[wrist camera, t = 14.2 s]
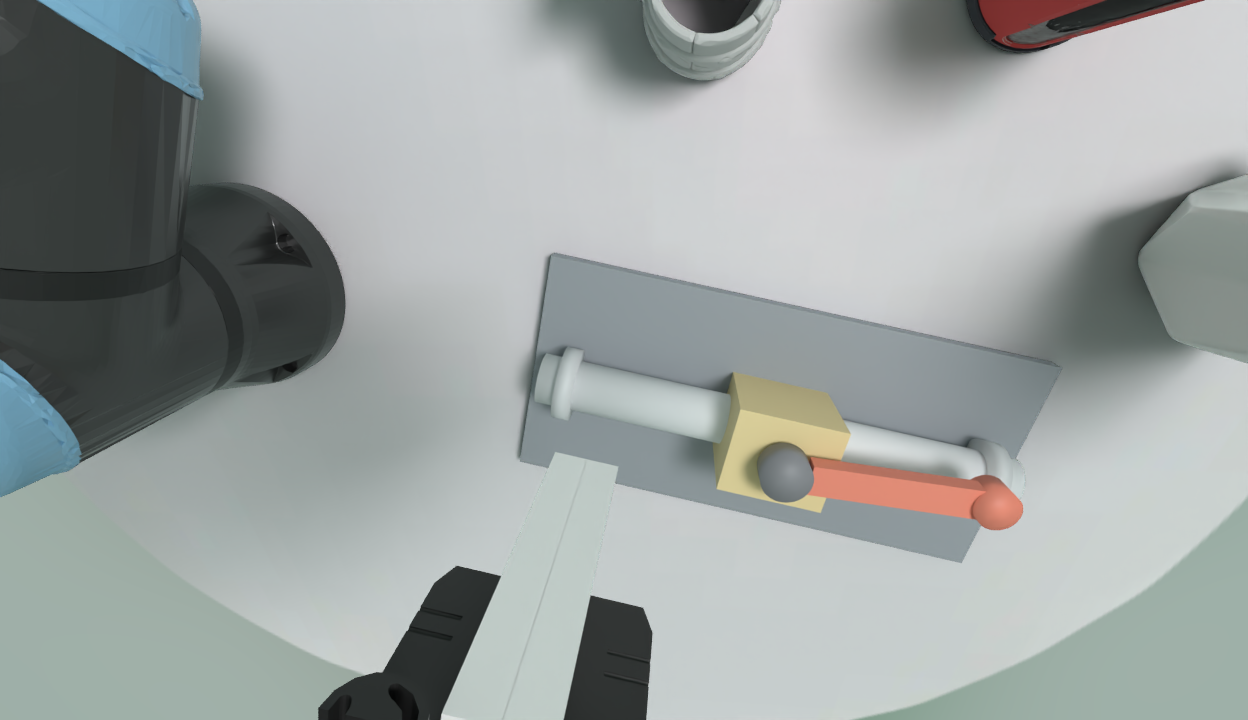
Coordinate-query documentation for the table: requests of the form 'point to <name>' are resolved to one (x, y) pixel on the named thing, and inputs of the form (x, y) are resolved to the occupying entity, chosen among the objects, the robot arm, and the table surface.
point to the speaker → (1055, 19)
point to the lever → (886, 487)
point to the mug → (707, 40)
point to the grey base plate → (769, 399)
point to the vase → (1203, 269)
